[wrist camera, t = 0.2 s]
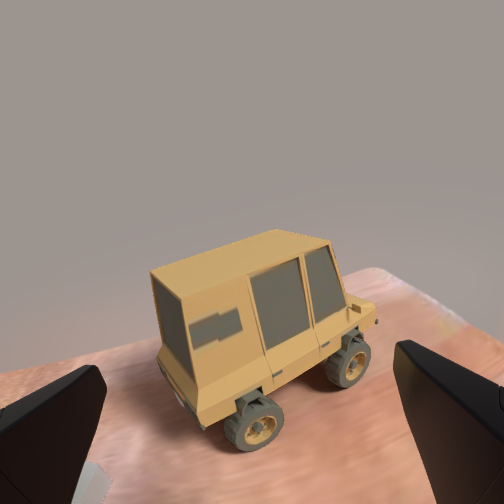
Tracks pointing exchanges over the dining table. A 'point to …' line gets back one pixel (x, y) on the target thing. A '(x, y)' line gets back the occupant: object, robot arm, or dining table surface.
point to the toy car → (256, 329)
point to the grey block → (91, 485)
